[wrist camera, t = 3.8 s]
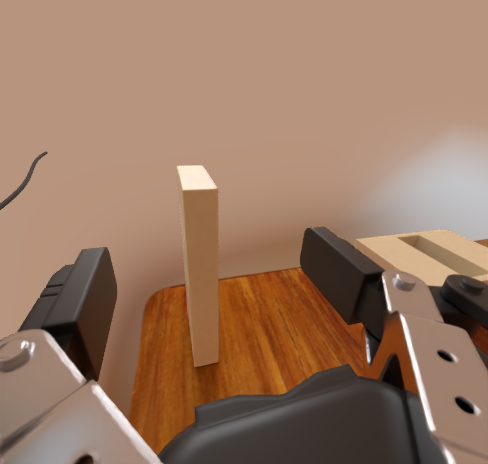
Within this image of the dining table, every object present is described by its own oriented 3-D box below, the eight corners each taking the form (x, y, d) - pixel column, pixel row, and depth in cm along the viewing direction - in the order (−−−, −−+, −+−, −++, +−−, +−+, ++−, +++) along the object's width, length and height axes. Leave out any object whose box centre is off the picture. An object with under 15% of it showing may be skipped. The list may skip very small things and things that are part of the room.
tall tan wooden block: (218, 362, 21) (218, 188, 14) (194, 368, 20) (181, 190, 13) (207, 311, 26) (203, 165, 19) (187, 314, 25) (176, 165, 18)
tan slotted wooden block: (406, 341, 24) (431, 291, 21) (344, 280, 32) (356, 239, 29) (511, 312, 28) (543, 268, 25) (432, 265, 36) (450, 228, 33)
